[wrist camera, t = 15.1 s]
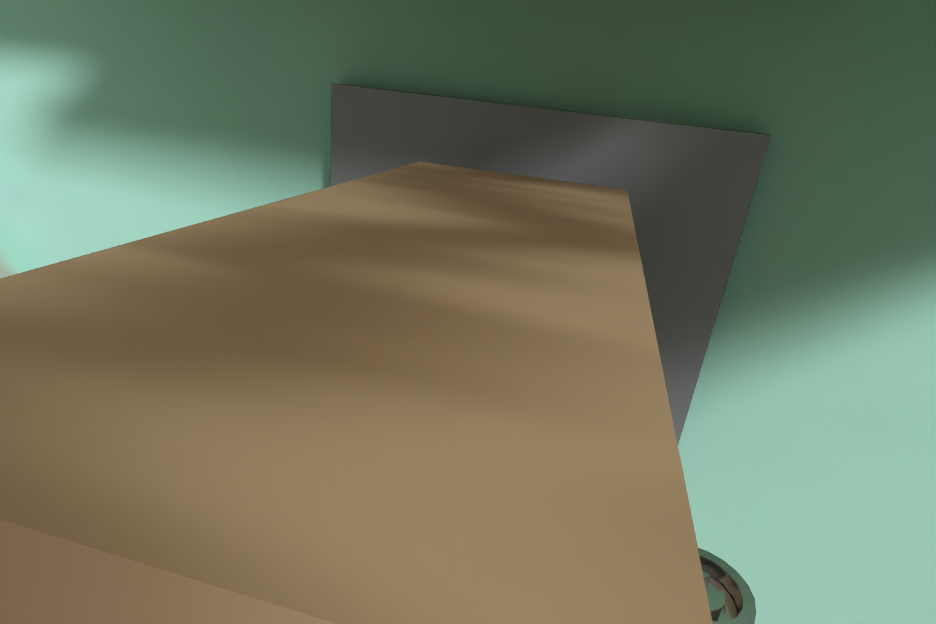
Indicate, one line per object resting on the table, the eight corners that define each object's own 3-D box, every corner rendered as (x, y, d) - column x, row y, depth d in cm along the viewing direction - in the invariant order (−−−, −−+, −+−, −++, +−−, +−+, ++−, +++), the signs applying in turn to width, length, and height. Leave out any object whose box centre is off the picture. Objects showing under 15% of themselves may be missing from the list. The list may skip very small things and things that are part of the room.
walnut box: (626, 189, 13) (739, 748, 2) (562, 501, 16) (453, 1374, 5) (419, 161, 13) (-408, 391, 3) (399, 462, 17) (6, 1121, 6)
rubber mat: (764, 134, 13) (770, 135, 13) (649, 524, 18) (650, 535, 17) (340, 84, 15) (331, 83, 15) (333, 446, 20) (327, 454, 19)
